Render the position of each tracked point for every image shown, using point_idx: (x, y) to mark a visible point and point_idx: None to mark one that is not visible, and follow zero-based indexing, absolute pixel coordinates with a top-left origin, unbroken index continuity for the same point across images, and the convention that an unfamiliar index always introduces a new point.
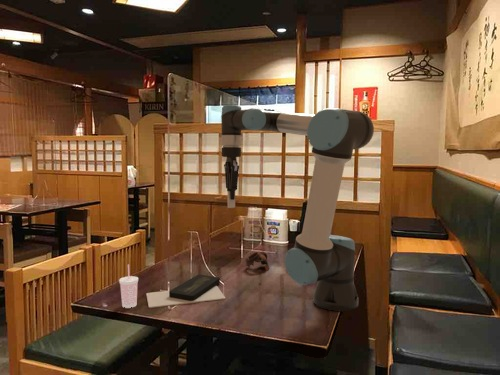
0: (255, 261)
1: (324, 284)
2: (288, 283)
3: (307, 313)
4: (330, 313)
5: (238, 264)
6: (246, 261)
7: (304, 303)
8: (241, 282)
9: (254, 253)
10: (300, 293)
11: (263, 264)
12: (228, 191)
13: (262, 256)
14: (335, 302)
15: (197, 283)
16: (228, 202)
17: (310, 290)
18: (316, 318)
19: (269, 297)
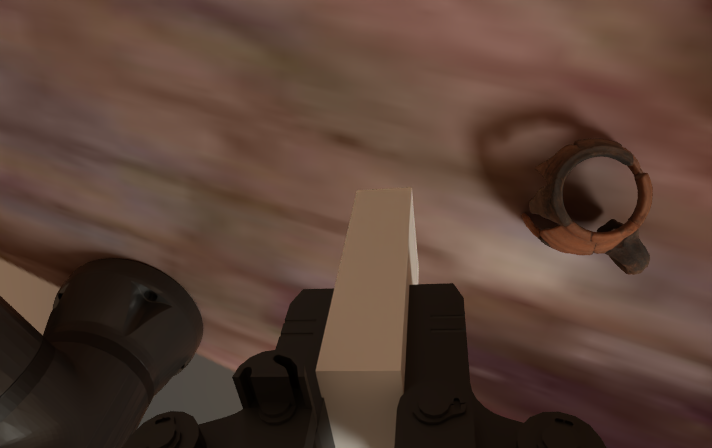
0: (540, 190)
1: (58, 325)
2: (330, 248)
3: (43, 212)
4: (52, 271)
5: (696, 105)
6: (589, 147)
7: (125, 232)
8: (380, 59)
9: (634, 217)
10: (218, 251)
11: (601, 226)
12: (319, 368)
13: (561, 241)
14: (55, 307)
15: None
16: (347, 233)
17: (245, 290)
18: (9, 223)
19: (180, 135)
